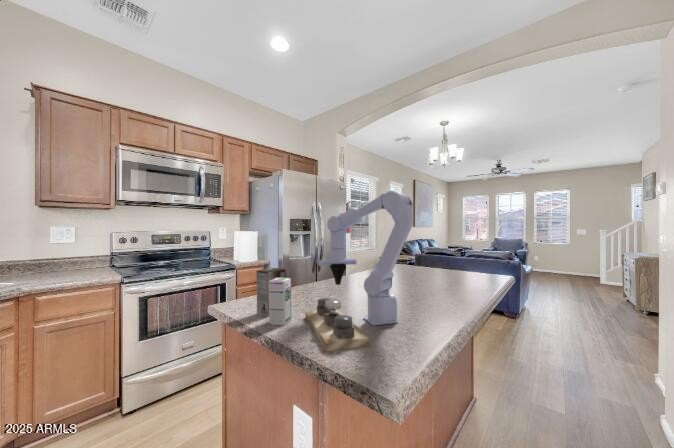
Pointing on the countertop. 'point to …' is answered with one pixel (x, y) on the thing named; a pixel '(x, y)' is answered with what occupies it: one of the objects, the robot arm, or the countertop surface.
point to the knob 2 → (343, 321)
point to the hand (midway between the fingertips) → (337, 284)
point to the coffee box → (266, 288)
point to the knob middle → (332, 306)
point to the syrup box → (279, 301)
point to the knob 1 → (322, 302)
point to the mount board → (335, 331)
